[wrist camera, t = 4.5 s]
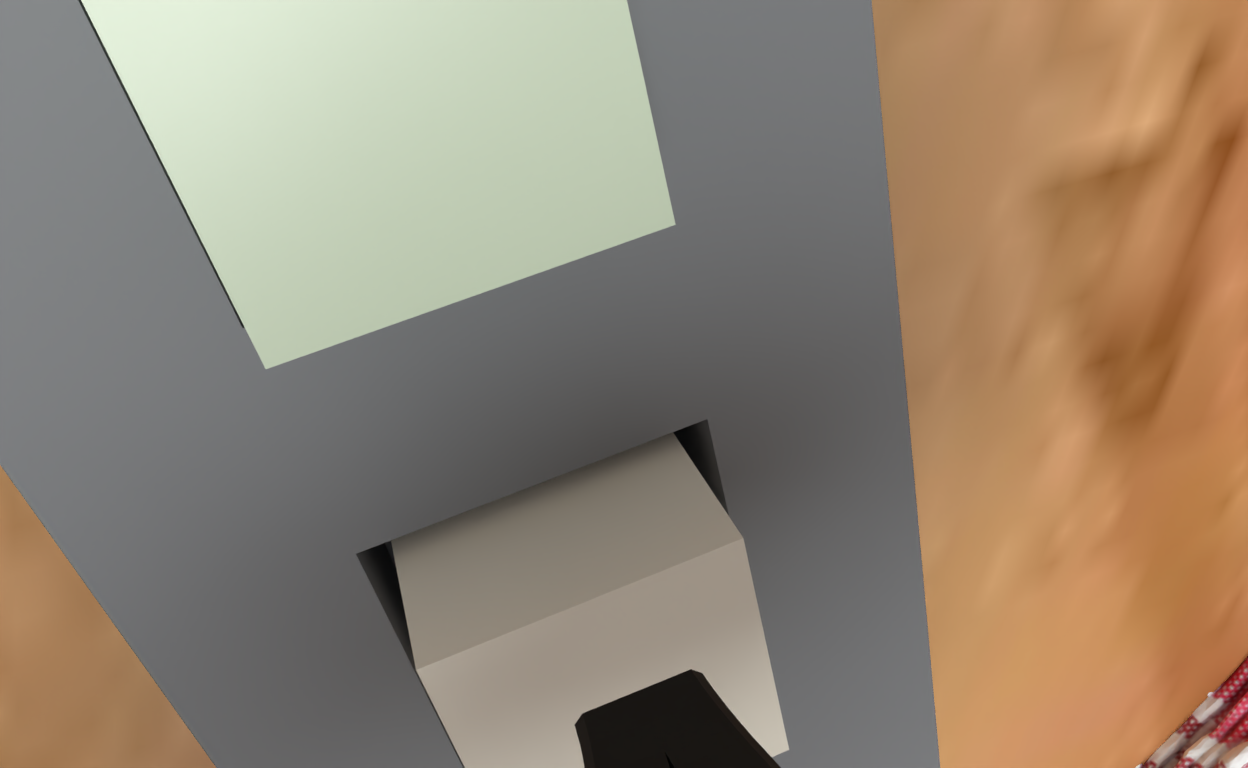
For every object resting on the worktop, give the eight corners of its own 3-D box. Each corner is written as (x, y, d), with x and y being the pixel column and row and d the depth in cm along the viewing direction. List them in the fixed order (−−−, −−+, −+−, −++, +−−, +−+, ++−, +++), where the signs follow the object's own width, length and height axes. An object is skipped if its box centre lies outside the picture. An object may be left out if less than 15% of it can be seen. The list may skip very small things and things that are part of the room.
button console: (444, 963, 24) (471, 1124, 21) (-281, -201, 11) (-475, -200, 8) (871, 772, 25) (951, 899, 22) (689, -449, 12) (824, -520, 9)
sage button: (261, 252, 12) (265, 369, 10) (82, -132, 10) (28, -107, 7) (592, 141, 13) (674, 224, 10) (495, -246, 11) (571, -257, 8)
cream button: (476, 711, 17) (515, 869, 14) (386, 520, 15) (416, 670, 12) (711, 613, 17) (789, 749, 15) (662, 416, 15) (743, 538, 13)
